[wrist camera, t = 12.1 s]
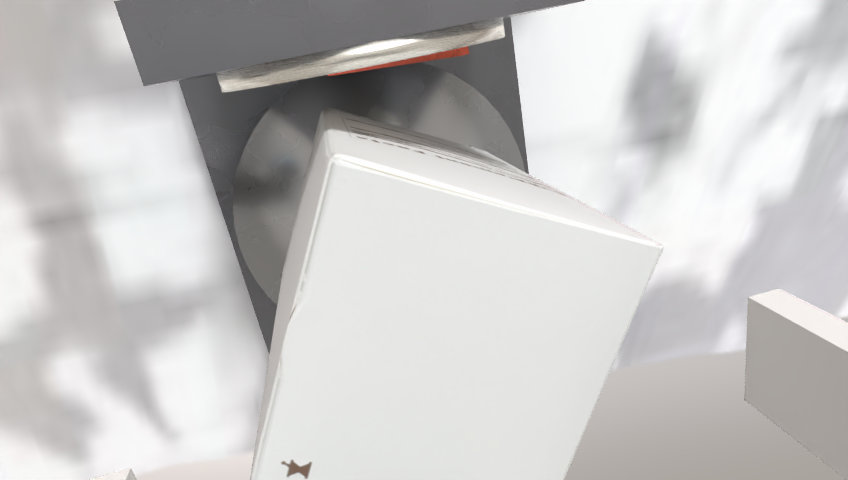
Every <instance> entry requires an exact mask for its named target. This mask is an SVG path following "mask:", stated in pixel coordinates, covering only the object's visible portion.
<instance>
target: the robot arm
mask: <svg viewBox="0 0 848 480" xmlns="http://www.w3.org/2000/svg"><path fill="white" fill-rule="evenodd" d="M744 400H745V401H747V402H748V403H749V404H751V405H752V406H753V407H754V408H756V409H757V410H758V411H760V412H761V413H762V414H763V415H764V416H766V417H767V418H768V419H770V420H771V421H772V422H773V423H775V424H776V425H777V426H778V427H780V428H781V429H782V430H783V431H785V432H786V433H787V434H788V435H790V436H791V437H792V438H794V439H795V440H796V441H797V442H798V443H800V444H801V445H802V446H803V447H805V448H806V449H808V451H810V452H811V453H812V454H814V455H815V456H816V457H817V458H819V459H820V460H821V461H822V462H824V463H825V464H826V465H828V466H829V467H830V468H831V469H832V470H834V471H835V472H836V473H837V474H839V475H840V476H841V477H843V478H844V479H845V480H848V323H847V322H846V321H843V320H842V319H840V318H838V317H836V316H833V315H831V314H829V313H827V312H825V311H823V310H821V309H819V308H817V307H815V306H813V305H811V304H809V303H807V302H805V301H803V300H801V299H799V298H797V297H795V296H793V295H791V294H789V293H787V292H785V291H783V290H781V289H776V290H772V291H768V292H765V293H761V294H758V295H754V296H750V297H748V315H747V342H746V369H745V395H744ZM89 480H136V478H135V476H134V473H133V471H132V469H131V468H129V469H125V470H121V471H118V472H114V473H110V474H107V475H103V476H100V477H96V478H92V479H89Z"/></svg>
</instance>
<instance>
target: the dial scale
mask: <svg viewBox="0 0 848 480" xmlns="http://www.w3.org/2000/svg"><path fill="white" fill-rule="evenodd" d="M581 1H585V0H120V1H114V3H115V5H116V8H117V11H118V14H119V17H120V20H121V22H122V25H123V28H124V31H125V34H126V37H127V39H128V42H129V45H130V48H131V51H132V54H133V56H134V59H135V62H136V65H137V68H138V71H139V73H140V76H141V79H142V82H143V85H144V86H148V85H155V84H162V83H168V82H175V81H179V83H180V86H181V89H182V92H183V95H184V98H185V101H186V104H187V107H188V110H189V113H190V116H191V119H192V122H193V125H194V128H195V131H196V134H197V137H198V140H199V143H200V146H201V149H202V152H203V155H204V158H205V161H206V164H207V167H208V170H209V173H210V176H211V179H212V183H213V186H214V189H215V192H216V195H217V198H218V201H219V204H220V207H221V210H222V213H223V216H224V219H225V222H226V225H227V228H228V231H229V234H230V237H231V240H232V243H233V246H234V249H235V252H236V255H237V258H238V261H239V264H240V267H241V270H242V273H243V276H244V279H245V282H246V285H247V288H248V291H249V294H250V298H251V301H252V304H253V307H254V310H255V313H256V316H257V319H258V322H259V325H260V328H261V331H262V334H263V337H264V340H265V343H266V346H267V349H268V352H269V355H270V348H271V342H272V335H273V329H274V323H275V316H276V310H277V304H278V298H279V292H280V285H281V279H282V272H283V267H284V262H285V258H286V254H287V250H288V245H289V241H290V237H291V233H292V228H293V224H294V220H295V216H296V211H297V207H298V203H299V199H300V195H301V190H302V186H303V182H304V178H305V174H306V170H307V166H308V162H309V158H310V154H311V150H312V146H313V142H314V138H315V133H316V129H317V125H318V122H319V118H320V114H321V111H322V110H323V108H325V107H330V108H334V109H338V110H342V111H345V112H349V113H352V114H356V115H359V116H363V117H366V118H370V119H373V120H377V121H381V122H384V123H388V124H391V125H395V126H398V127H402V128H405V129H409V130H412V131H416V132H420V133H423V134H427V135H430V136H434V137H438V138H441V139H445V140H448V141H452V142H455V143H459V144H463V145H466V146H470V147H473V148H477V149H480V150H483V151H486V152H488V153H490V154H492V155H494V156H495V157H497V158H499V159H501V160H503V161H505V162H507V163H508V164H510V165H512V166H514V167H516V168H518V169H520V170H521V171H523V172H525V173H527V174H529V172H528V164H527V155H526V147H525V138H524V130H523V121H522V113H521V104H520V95H519V87H518V78H517V70H516V61H515V53H514V44H513V36H512V27H511V18H510V17H513V16H518V15H522V14H527V13H531V12H536V11H540V10H545V9H549V8H554V7H558V6H563V5H567V4H572V3H576V2H581Z"/></svg>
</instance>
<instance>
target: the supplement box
mask: <svg viewBox="0 0 848 480" xmlns="http://www.w3.org/2000/svg"><path fill="white" fill-rule="evenodd" d="M662 251H663V246H662V245H661V244H658V243H656V242H655V241H653V240H651V239H649V238H648V237H646V236H644V235H642V234H641V233H639V232H637V231H635V230H634V229H632V228H630V227H628V226H626V225H624V224H622V223H621V222H619V221H617V220H615V219H613V218H611V217H609V216H607V215H605V214H604V213H602V212H600V211H598V210H596V209H594V208H592V207H590V206H588V205H586V204H584V203H582V202H580V201H579V200H577V199H575V198H573V197H571V196H569V195H567V194H565V193H563V192H561V191H560V190H558V189H556V188H554V187H552V186H550V185H548V184H546V183H544V182H542V181H540V180H538V179H536V178H535V177H533V176H531V175H529V174H527V173H525V172H523V171H521V170H520V169H518V168H516V167H514V166H512V165H510V164H508V163H507V162H505V161H503V160H501V159H499V158H497V157H495V156H494V155H492V154H490V153H488V152H486V151H483V150H480V149H477V148H473V147H470V146H466V145H463V144H459V143H455V142H452V141H448V140H445V139H441V138H438V137H434V136H430V135H427V134H423V133H420V132H416V131H412V130H409V129H405V128H402V127H398V126H395V125H391V124H388V123H384V122H381V121H377V120H373V119H370V118H366V117H363V116H359V115H356V114H352V113H349V112H345V111H342V110H338V109H334V108H330V107H325V108H323V110H322V111H321V114H320V118H319V122H318V125H317V129H316V133H315V138H314V142H313V146H312V150H311V154H310V158H309V162H308V166H307V170H306V174H305V178H304V182H303V186H302V190H301V195H300V199H299V203H298V207H297V211H296V216H295V220H294V224H293V228H292V233H291V237H290V241H289V245H288V250H287V254H286V258H285V262H284V267H283V272H282V279H281V285H280V292H279V298H278V304H277V310H276V316H275V323H274V329H273V335H272V342H271V348H270V355H269V361H268V367H267V373H266V380H265V386H264V392H263V399H262V405H261V412H260V418H259V425H258V431H257V438H256V444H255V450H254V457H253V464H252V471H251V478H250V480H564V478H565V475H566V473H567V471H568V469H569V466H570V464H571V461H572V459H573V457H574V455H575V452H576V450H577V448H578V445H579V443H580V440H581V438H582V436H583V433H584V431H585V429H586V427H587V424H588V422H589V420H590V417H591V415H592V413H593V410H594V408H595V406H596V403H597V401H598V399H599V396H600V394H601V391H602V389H603V387H604V385H605V382H606V380H607V377H608V375H609V373H610V370H611V368H612V366H613V363H614V361H615V359H616V356H617V354H618V352H619V349H620V347H621V345H622V342H623V340H624V338H625V335H626V333H627V331H628V328H629V326H630V324H631V321H632V319H633V317H634V315H635V312H636V310H637V308H638V305H639V303H640V301H641V298H642V296H643V294H644V292H645V289H646V287H647V285H648V282H649V280H650V278H651V275H652V273H653V271H654V269H655V266H656V264H657V262H658V259H659V257H660V255H661V253H662Z"/></svg>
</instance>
